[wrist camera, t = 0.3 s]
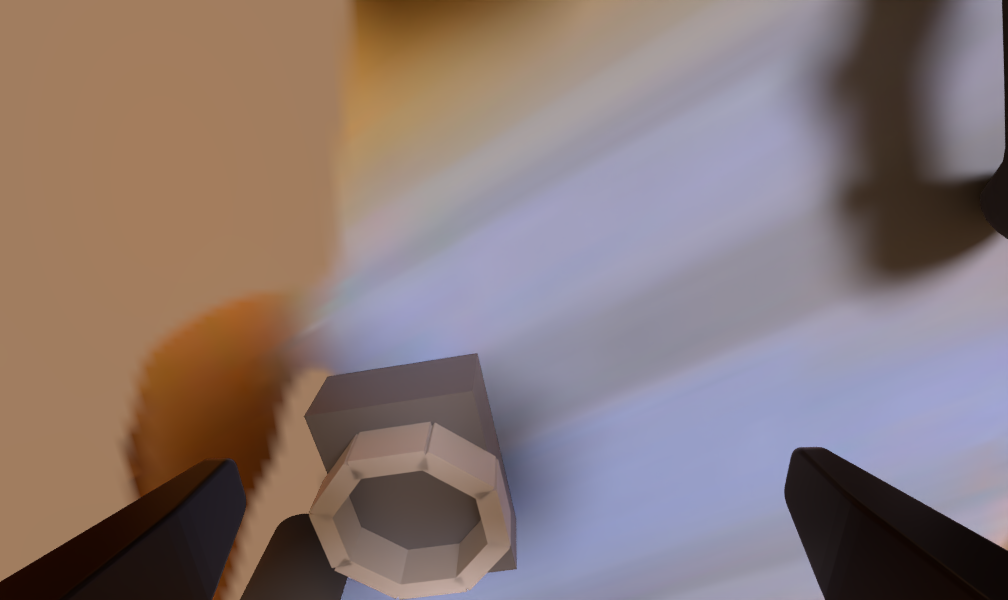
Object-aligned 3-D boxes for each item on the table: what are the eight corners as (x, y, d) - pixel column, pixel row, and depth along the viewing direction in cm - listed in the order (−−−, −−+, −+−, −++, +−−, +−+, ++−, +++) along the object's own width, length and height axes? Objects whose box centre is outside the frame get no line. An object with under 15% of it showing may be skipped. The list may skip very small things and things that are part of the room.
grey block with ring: (522, 518, 28) (524, 603, 23) (379, 536, 28) (355, 623, 24) (484, 352, 24) (478, 417, 19) (320, 377, 25) (278, 446, 20)
